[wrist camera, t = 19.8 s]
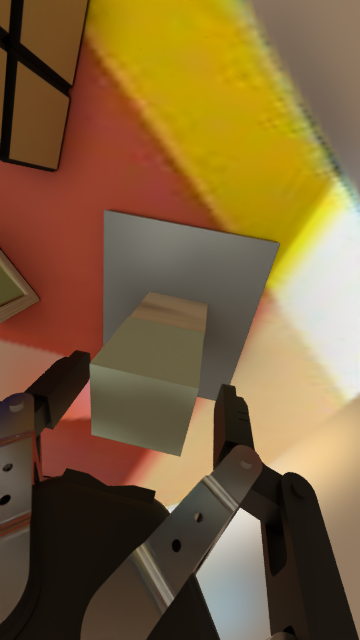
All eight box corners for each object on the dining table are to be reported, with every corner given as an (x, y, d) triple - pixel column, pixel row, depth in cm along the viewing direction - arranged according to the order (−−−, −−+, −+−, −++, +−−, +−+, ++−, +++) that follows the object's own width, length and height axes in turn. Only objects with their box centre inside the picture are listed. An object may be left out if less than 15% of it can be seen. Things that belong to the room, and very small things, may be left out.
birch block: (196, 352, 21) (190, 390, 17) (144, 340, 21) (125, 375, 17) (207, 303, 19) (205, 333, 14) (149, 291, 19) (129, 317, 15)
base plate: (223, 394, 24) (223, 402, 23) (107, 367, 25) (103, 374, 24) (276, 241, 17) (280, 243, 16) (110, 209, 18) (103, 210, 17)
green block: (189, 390, 17) (180, 456, 12) (124, 375, 17) (91, 434, 12) (204, 332, 14) (198, 388, 10) (128, 316, 15) (89, 363, 10)
